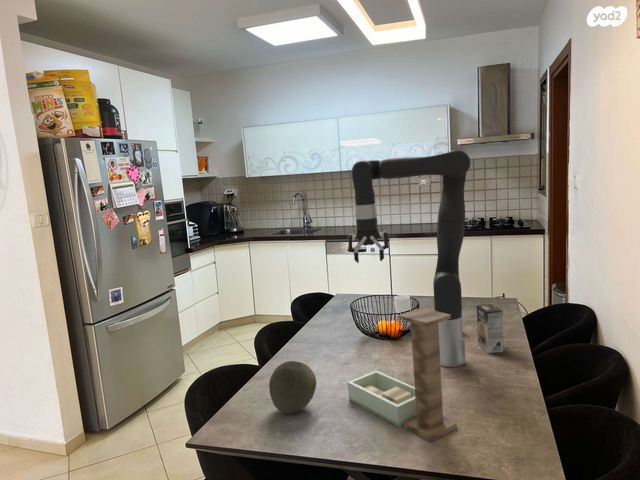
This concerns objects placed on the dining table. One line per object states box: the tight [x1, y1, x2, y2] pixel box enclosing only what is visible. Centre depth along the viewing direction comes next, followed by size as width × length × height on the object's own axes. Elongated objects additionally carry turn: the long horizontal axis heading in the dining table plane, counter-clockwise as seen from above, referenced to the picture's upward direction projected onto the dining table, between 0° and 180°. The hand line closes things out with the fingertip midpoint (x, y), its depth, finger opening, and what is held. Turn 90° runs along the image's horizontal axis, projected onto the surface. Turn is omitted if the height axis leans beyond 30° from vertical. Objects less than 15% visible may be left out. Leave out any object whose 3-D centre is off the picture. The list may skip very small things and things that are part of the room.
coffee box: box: [476, 303, 504, 354], centre depth 181 cm, size 9×6×16 cm
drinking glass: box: [394, 294, 411, 314], centre depth 209 cm, size 7×7×15 cm
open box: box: [347, 370, 416, 428], centre depth 144 cm, size 22×12×6 cm, turn 35°
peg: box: [363, 385, 411, 405], centre depth 144 cm, size 17×6×5 cm, turn 34°
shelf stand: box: [398, 307, 458, 443], centre depth 128 cm, size 10×10×32 cm
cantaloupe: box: [268, 360, 317, 415], centre depth 146 cm, size 14×14×15 cm
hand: (369, 261), depth 173 cm, fingers open, 8 cm apart
